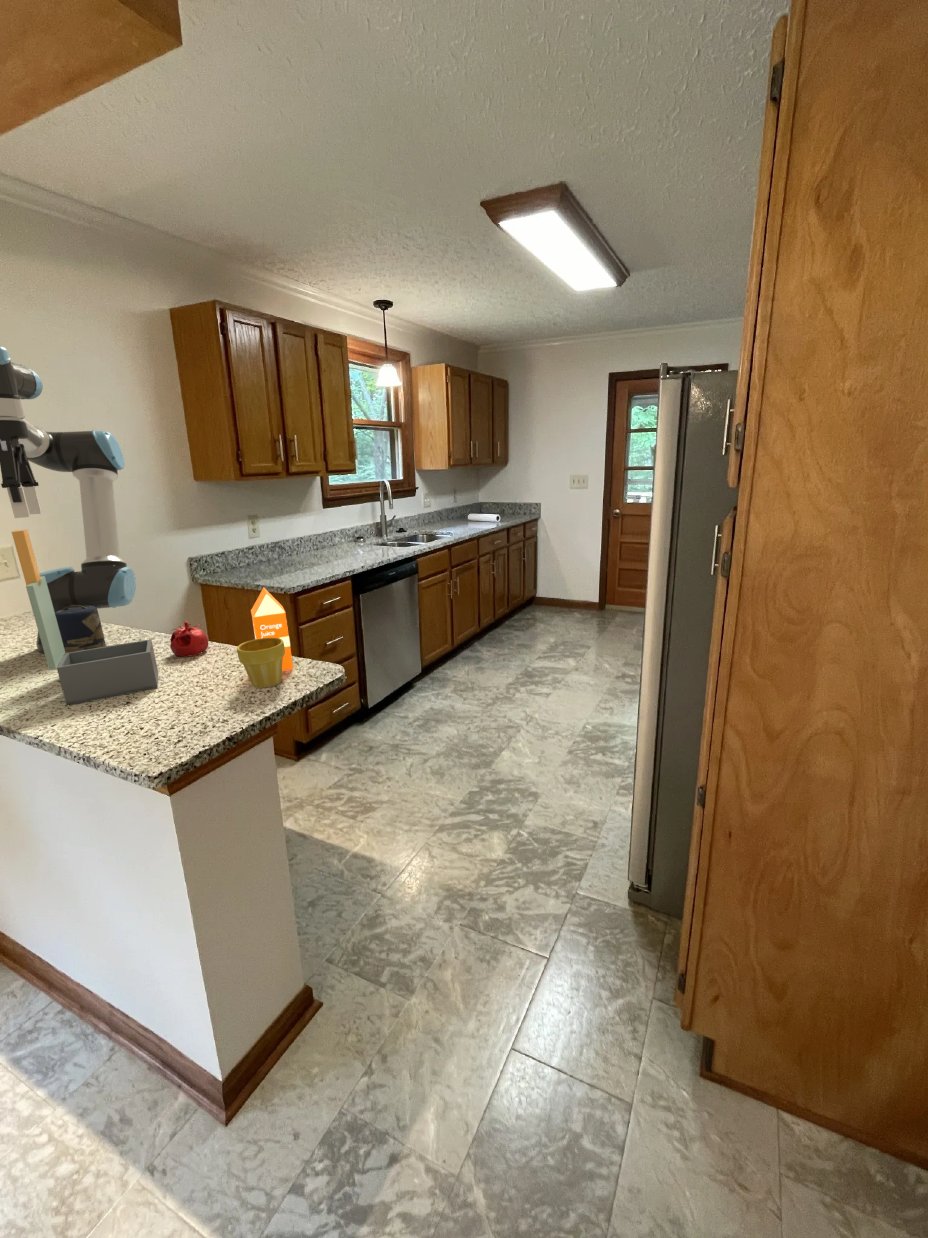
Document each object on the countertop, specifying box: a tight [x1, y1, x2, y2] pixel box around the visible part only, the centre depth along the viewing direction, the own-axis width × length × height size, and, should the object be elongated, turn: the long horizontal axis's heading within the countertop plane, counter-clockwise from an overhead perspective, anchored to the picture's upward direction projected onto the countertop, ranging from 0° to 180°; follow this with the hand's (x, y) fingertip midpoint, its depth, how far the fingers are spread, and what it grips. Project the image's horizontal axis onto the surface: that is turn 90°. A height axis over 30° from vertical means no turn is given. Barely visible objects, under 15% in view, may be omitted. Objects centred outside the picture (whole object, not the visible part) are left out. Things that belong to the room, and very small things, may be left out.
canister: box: [55, 605, 107, 655], centre depth 143 cm, size 10×10×18 cm
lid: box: [11, 529, 65, 671], centre depth 122 cm, size 13×30×2 cm
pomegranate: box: [169, 621, 209, 657], centre depth 155 cm, size 10×10×9 cm
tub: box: [56, 638, 159, 706], centre depth 132 cm, size 12×18×9 cm, turn 117°
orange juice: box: [250, 587, 294, 671], centre depth 140 cm, size 8×9×20 cm
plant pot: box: [236, 637, 285, 689], centre depth 130 cm, size 10×10×10 cm
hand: (29, 515), depth 131 cm, fingers open, 13 cm apart
